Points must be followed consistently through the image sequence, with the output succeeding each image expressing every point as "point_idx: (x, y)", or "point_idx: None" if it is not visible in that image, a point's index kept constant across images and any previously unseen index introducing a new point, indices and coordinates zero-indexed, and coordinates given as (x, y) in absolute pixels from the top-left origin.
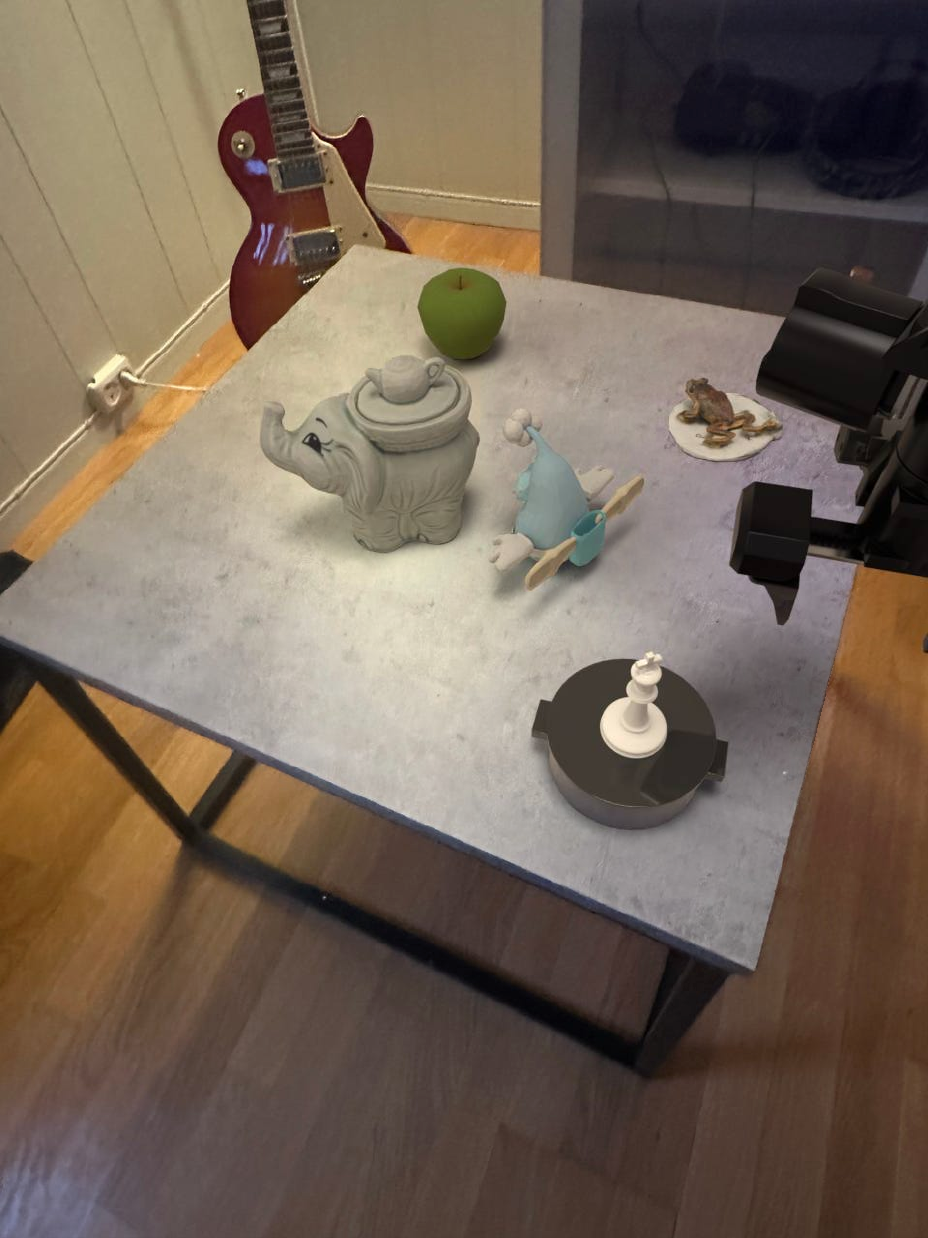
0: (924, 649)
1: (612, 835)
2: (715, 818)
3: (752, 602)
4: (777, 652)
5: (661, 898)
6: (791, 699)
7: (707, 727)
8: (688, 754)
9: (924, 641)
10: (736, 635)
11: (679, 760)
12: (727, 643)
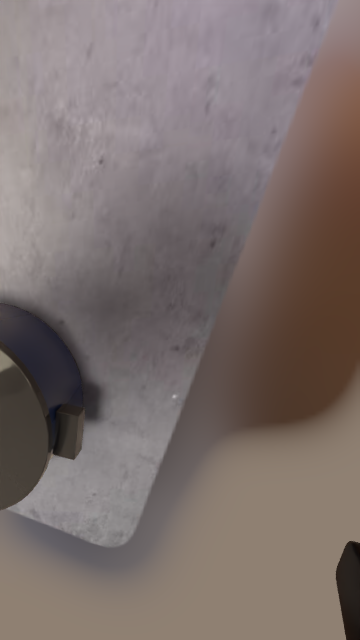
0: (338, 578)
1: None
2: (99, 445)
3: (156, 109)
4: (186, 215)
5: (54, 511)
6: (195, 296)
7: (35, 421)
8: (15, 457)
9: (348, 559)
10: (128, 187)
11: (6, 463)
12: (115, 204)
